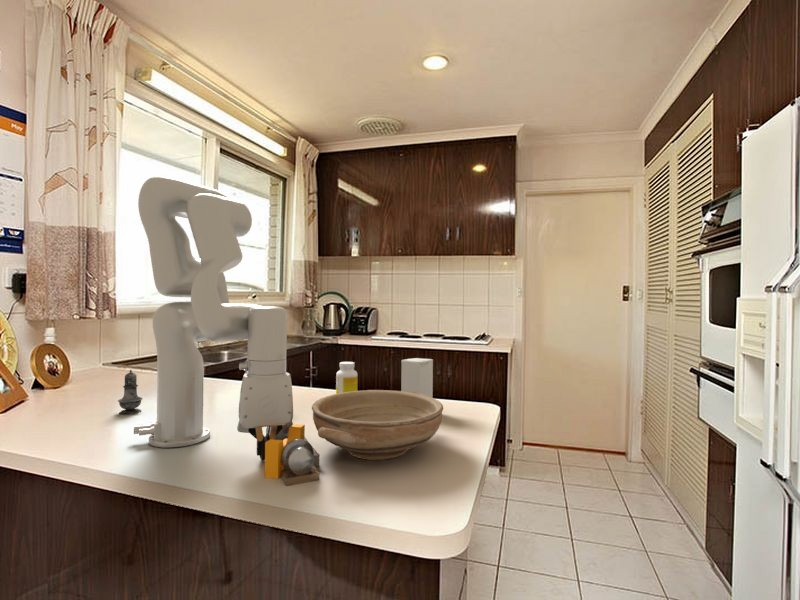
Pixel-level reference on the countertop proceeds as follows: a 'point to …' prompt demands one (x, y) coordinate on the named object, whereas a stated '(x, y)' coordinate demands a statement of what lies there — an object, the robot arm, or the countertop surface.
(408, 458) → the countertop surface
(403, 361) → the skincare box
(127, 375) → the salt shaker
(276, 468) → the pipe clamp
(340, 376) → the supplement bottle
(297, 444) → the pipe run
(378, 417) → the ceramic bowl
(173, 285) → the robot arm
